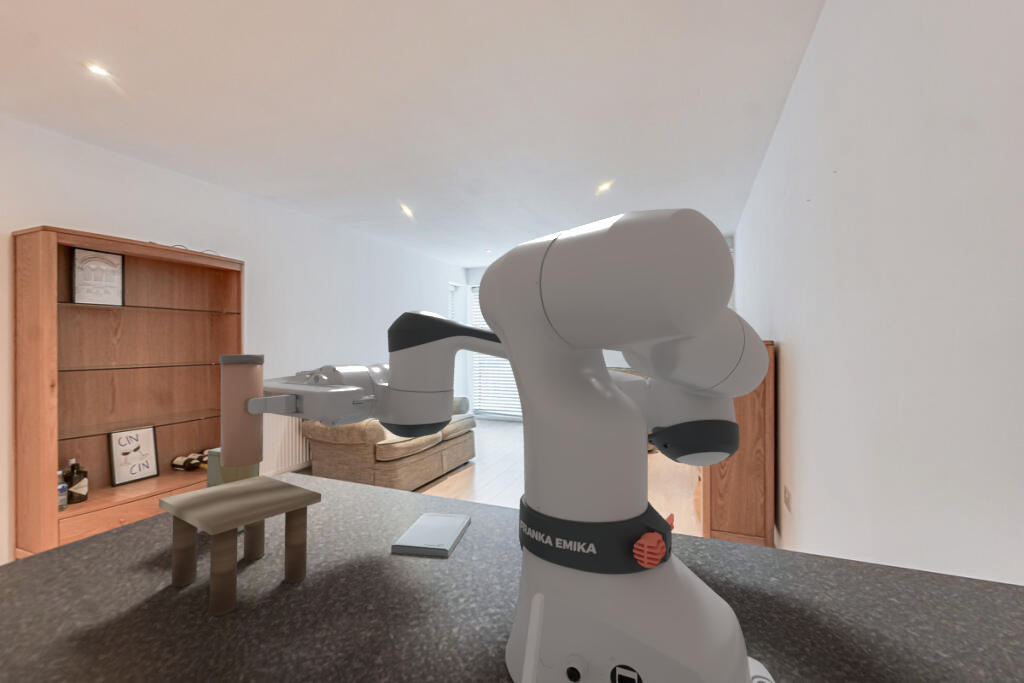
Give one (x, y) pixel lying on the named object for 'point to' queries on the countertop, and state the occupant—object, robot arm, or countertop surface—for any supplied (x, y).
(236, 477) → the skincare box
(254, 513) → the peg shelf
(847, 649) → the countertop surface
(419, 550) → the hard drive
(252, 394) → the spice jar
